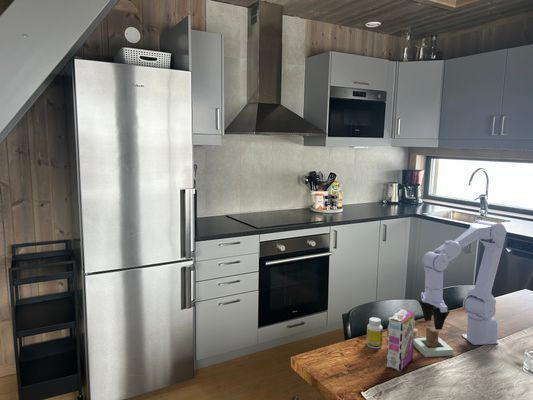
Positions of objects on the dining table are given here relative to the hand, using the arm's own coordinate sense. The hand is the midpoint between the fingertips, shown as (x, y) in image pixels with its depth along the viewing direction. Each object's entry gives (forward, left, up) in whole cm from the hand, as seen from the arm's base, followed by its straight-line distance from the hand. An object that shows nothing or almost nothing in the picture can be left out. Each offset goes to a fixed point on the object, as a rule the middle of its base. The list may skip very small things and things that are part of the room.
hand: (432, 324), depth 141 cm
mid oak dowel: (+3, -12, -9) cm, 15 cm away
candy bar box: (+15, +8, -9) cm, 19 cm away
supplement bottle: (+19, -5, -9) cm, 22 cm away
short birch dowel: (+4, -7, -9) cm, 12 cm away
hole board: (0, 0, -9) cm, 9 cm away
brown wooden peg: (0, 0, -9) cm, 9 cm away
